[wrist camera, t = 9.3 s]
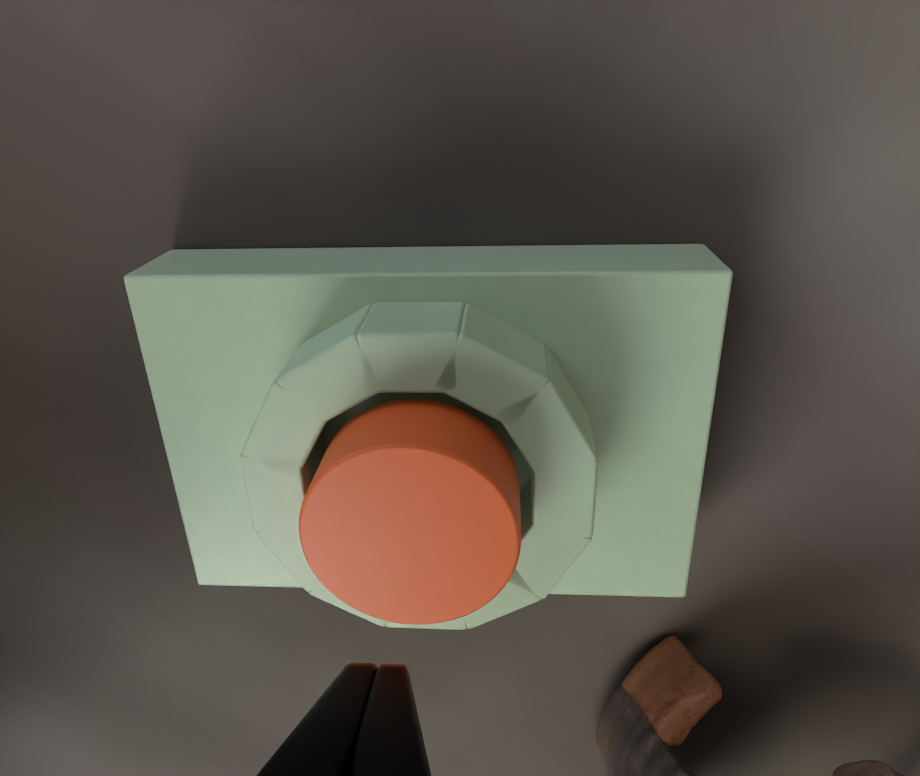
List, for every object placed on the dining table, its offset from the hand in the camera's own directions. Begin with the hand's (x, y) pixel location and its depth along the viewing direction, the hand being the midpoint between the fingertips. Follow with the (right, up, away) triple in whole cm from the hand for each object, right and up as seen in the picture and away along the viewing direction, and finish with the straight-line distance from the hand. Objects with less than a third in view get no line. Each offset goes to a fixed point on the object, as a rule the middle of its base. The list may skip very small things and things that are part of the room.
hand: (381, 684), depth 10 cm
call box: (+1, +4, +7) cm, 8 cm away
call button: (0, +2, +4) cm, 5 cm away
